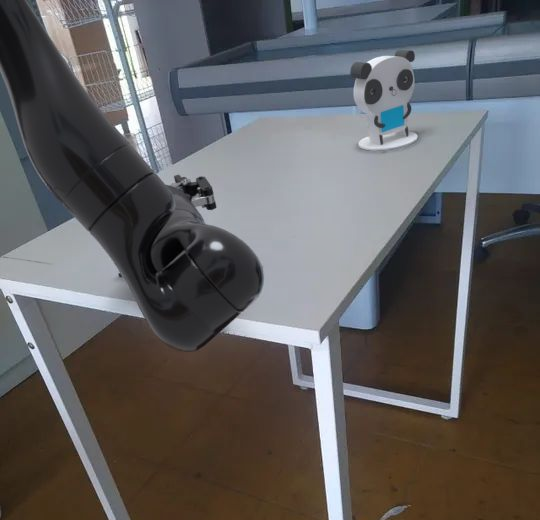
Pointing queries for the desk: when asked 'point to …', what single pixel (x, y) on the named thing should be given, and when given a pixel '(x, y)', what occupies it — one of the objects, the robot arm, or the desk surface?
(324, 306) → the desk surface
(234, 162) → the desk surface
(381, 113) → the panda figurine
